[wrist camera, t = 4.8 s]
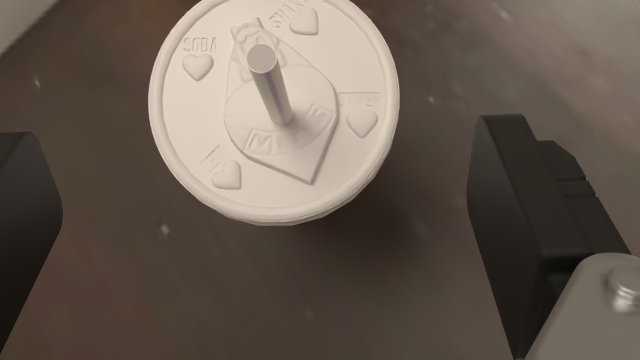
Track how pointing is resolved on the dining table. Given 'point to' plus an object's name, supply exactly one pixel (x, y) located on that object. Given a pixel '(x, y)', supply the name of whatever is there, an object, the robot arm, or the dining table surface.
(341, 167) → the smoothie
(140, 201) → the dining table surface
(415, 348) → the dining table surface
